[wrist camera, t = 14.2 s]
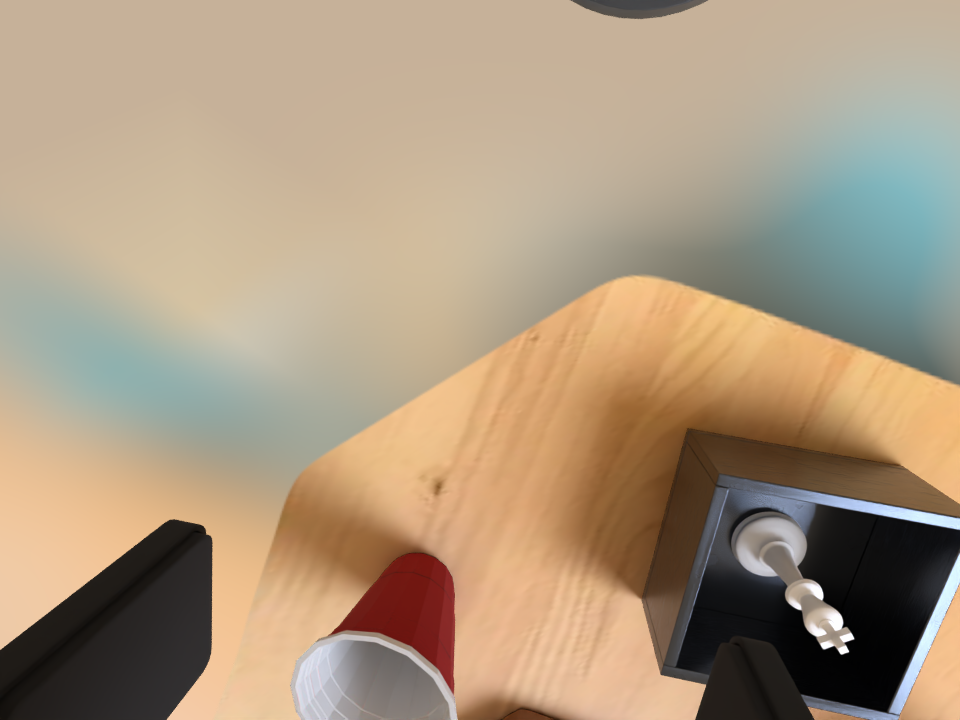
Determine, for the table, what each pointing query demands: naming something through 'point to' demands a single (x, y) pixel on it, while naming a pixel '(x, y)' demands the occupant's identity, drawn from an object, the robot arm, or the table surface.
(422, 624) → the plastic cup
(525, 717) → the plant
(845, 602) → the dark grey open box
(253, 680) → the table surface
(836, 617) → the chess piece
